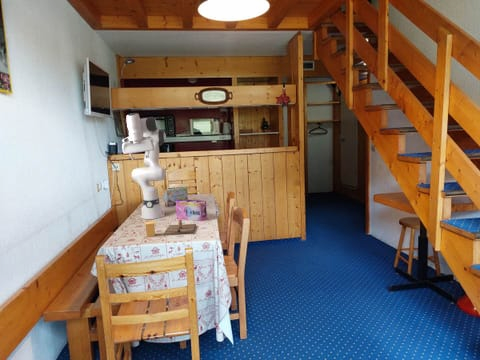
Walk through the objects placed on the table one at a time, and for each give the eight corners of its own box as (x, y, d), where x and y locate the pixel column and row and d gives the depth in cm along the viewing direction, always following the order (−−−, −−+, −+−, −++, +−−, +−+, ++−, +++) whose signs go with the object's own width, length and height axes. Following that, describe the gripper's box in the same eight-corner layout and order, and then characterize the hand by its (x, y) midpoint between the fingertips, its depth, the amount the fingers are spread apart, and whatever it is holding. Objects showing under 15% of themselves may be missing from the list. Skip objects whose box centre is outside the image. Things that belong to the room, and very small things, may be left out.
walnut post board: (169, 227, 217) (168, 217, 216) (195, 225, 217) (195, 215, 216) (164, 235, 199) (163, 224, 198) (193, 233, 199) (192, 222, 198)
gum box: (209, 218, 235) (207, 200, 234) (202, 221, 228) (201, 202, 227) (183, 216, 247) (181, 199, 245) (176, 218, 240) (175, 201, 238)
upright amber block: (147, 234, 202) (145, 222, 201) (155, 233, 204) (154, 221, 203) (146, 236, 198) (145, 224, 197) (155, 235, 199) (154, 223, 198)
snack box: (168, 207, 284) (166, 190, 282) (165, 206, 288) (163, 189, 286) (188, 203, 298) (187, 187, 296) (185, 202, 302) (184, 186, 300)
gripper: (153, 135, 213) (157, 156, 214) (123, 140, 213) (127, 160, 214) (151, 135, 207) (154, 157, 208) (119, 140, 207) (123, 161, 208)
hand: (140, 159), depth 211 cm, fingers open, 8 cm apart
